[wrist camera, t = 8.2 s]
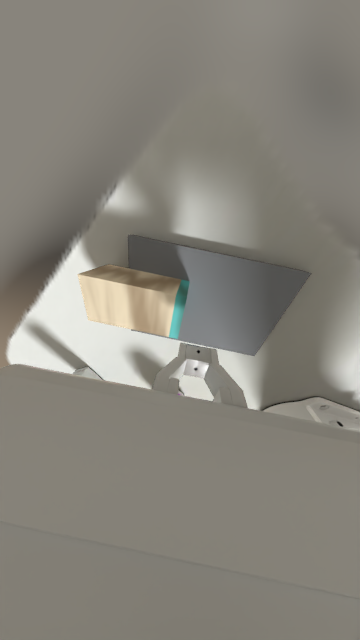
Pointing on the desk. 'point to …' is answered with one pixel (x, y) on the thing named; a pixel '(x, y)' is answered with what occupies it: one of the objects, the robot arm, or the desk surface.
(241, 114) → the desk surface
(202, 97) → the desk surface
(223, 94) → the desk surface
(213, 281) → the rubber mat
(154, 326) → the birch block
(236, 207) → the desk surface
